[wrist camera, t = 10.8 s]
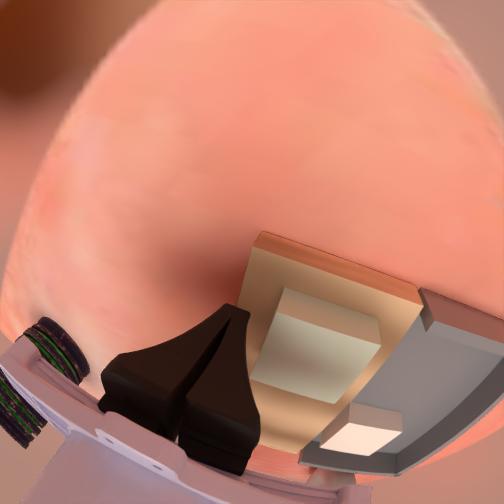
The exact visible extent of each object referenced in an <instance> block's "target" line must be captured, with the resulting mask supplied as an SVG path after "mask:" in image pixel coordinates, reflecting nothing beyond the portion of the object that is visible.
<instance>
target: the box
mask: <svg viewBox="0 0 504 504" xmlns="http://www.w3.org/2000/svg"><path fill="white" fill-rule="evenodd" d="M418 293H419V295H420V298H421V300H422V303H423V305H424V307H423V308H422V310H421V311H420V313H419V315H418V316H417V318H416V319H415V321H414V322H413V324H412V325H411V327H410V328H409V329H408V331H407V332H406V334H405V335H404V337H403V338H402V339H401V341H400V342H399V343H398V345H397V346H396V348H395V349H394V350H393V352H392V353H391V354H390V356H389V357H388V358H387V359H386V361H385V362H384V363H383V364H382V366H381V367H380V368H379V369H378V371H377V372H376V373H375V374H374V376H373V377H372V378H371V379H370V380H369V382H368V383H367V384H366V385H365V386H364V387H363V388H362V390H361V391H360V392H359V393H358V394H357V395H356V396H355V397H354V399H353V400H352V401H351V402H354V403H358V404H363V405H367V406H372V407H376V408H381V409H386V410H392V411H397V412H401V416H402V431H403V432H402V433H401V434H399V435H398V436H397V437H395V438H394V439H392V440H391V441H390V442H388V443H387V444H386V445H384V446H383V447H381V448H380V449H378V450H377V451H375V452H374V453H372V454H371V455H369V456H365V455H358V454H352V453H346V452H340V451H335V450H329V449H324V448H320V441H321V434H322V431H321V432H320V433H319V434H318V435H317V436H316V437H315V438H314V439H313V440H311V441H310V442H309V443H308V444H307V445H306V446H305V447H304V448H302V449H301V451H300V456H299V460H298V464H300V465H305V466H310V467H315V468H321V469H327V470H333V471H340V472H347V473H355V474H365V475H378V476H400V475H401V474H403V473H405V472H407V471H409V470H410V469H412V468H414V467H415V466H417V465H419V464H420V463H422V462H424V461H425V460H427V459H428V458H430V457H431V456H433V455H434V454H436V453H437V452H439V451H440V450H442V449H443V448H445V447H446V446H448V445H449V444H450V443H452V442H453V441H454V440H456V439H457V438H458V437H460V436H461V435H462V434H464V433H465V432H466V431H467V430H469V429H470V428H471V427H472V426H474V425H475V424H476V423H477V422H478V421H480V420H481V419H482V418H483V417H484V416H485V415H486V414H488V413H489V412H490V411H491V410H492V409H493V408H494V407H495V406H496V405H497V404H498V403H499V402H500V401H501V400H502V399H503V398H504V321H503V320H501V319H499V318H496V317H494V316H491V315H489V314H486V313H484V312H482V311H479V310H477V309H474V308H472V307H469V306H467V305H464V304H462V303H459V302H457V301H454V300H452V299H449V298H446V297H444V296H441V295H439V294H436V293H434V292H431V291H428V290H426V289H423V288H420V290H419V292H418Z"/></svg>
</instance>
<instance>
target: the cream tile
mask: <svg viewBox="0 0 504 504" xmlns="http://www.w3.org/2000/svg"><path fill="white" fill-rule="evenodd" d="M402 432H403V431H402V416H401V412H397V411H392V410H386V409H381V408H376V407H372V406H367V405H363V404H358V403H354V402H350V403H349V404H348V405H347V406H346V407H345V408H344V409H343V410H342V411H341V412H340V413H339V414H338V415H337V416H336V417H335V418H334V419H333V420H332V421H331V422H330V423H329V424H328V425H327V426H326V427H325V428H324V429H323V430H322V434H321V441H320V448H324V449H329V450H335V451H340V452H346V453H352V454H358V455H365V456H369V455H371V454H372V453H374V452H375V451H377V450H378V449H380V448H381V447H383V446H384V445H386V444H387V443H388V442H390V441H391V440H392V439H394V438H395V437H397V436H398V435H399V434H401V433H402Z"/></svg>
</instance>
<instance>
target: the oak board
mask: <svg viewBox="0 0 504 504" xmlns="http://www.w3.org/2000/svg"><path fill="white" fill-rule="evenodd" d="M284 287H286V288H289V289H292V290H295V291H298V292H300V293H303V294H306V295H309V296H312V297H315V298H318V299H321V300H324V301H327V302H330V303H333V304H336V305H339V306H342V307H345V308H348V309H351V310H354V311H357V312H360V313H363V314H366V315H369V316H372V317H375V318H378V324H379V331H380V338H381V347H380V348H379V350H378V351H377V352H376V354H375V355H374V356H373V358H372V359H371V360H370V362H369V363H368V364H367V366H366V367H365V368H364V370H363V371H362V372H361V373H360V375H359V376H358V377H357V378H356V380H355V381H354V382H353V383H352V384H351V386H350V387H349V388H348V389H347V390H346V392H345V393H344V394H343V395H342V396H341V397H340V399H339V400H338V401H337V402H336V403H335V404H332V403H328V402H324V401H320V400H317V399H313V398H309V397H306V396H302V395H299V394H296V393H292V392H289V391H286V390H282V389H279V388H276V387H273V386H270V385H267V384H264V383H261V382H258V381H255V380H253V379H250V376H251V373H252V370H253V368H254V365H255V362H256V359H257V357H258V354H259V352H260V349H261V347H262V344H263V342H264V339H265V336H266V334H267V331H268V329H269V326H270V324H271V321H272V319H273V316H274V313H275V311H276V308H277V306H278V303H279V300H280V298H281V295H282V292H283V290H284ZM236 307H238V308H241V309H243V310H246V311H249V312H250V314H251V315H250V318H249V321H248V325H247V332H246V360H247V369H248V376H249V381H250V385H251V389H252V393H253V397H254V400H255V403H256V406H257V409H258V411H259V414H260V422H261V435H260V440H259V443H258V444H259V445H262V446H266V447H269V448H273V449H276V450H280V451H284V452H288V453H292V454H297V453H298V452H299V451H300V450H301V449H302V448H304V447H305V446H306V445H307V444H308V443H309V442H310V441H311V440H313V439H314V438H315V437H316V436H317V435H318V434H319V433H320V432H321V431H322V430H323V429H324V428H325V427H326V426H327V425H328V424H329V423H330V422H331V421H332V420H333V419H334V418H335V417H336V416H337V415H338V414H339V413H340V412H341V411H342V410H343V409H344V408H345V407H346V406H347V405H348V404H349V403H350V402H351V401H352V400H353V399H354V397H355V396H356V395H357V394H358V393H359V392H360V391H361V390H362V388H363V387H364V386H365V385H366V384H367V383H368V382H369V380H370V379H371V378H372V377H373V376H374V374H375V373H376V372H377V371H378V369H379V368H380V367H381V366H382V364H383V363H384V362H385V361H386V359H387V358H388V357H389V356H390V354H391V353H392V352H393V350H394V349H395V348H396V346H397V345H398V343H399V342H400V341H401V339H402V338H403V337H404V335H405V334H406V332H407V331H408V329H409V328H410V327H411V325H412V324H413V322H414V321H415V319H416V318H417V316H418V315H419V313H420V311H421V310H422V308H423V307H424V305H423V303H422V300H421V298H420V295H419V293H418V291H417V288H416V286H415V285H413V284H410V283H407V282H405V281H402V280H399V279H397V278H394V277H391V276H389V275H386V274H383V273H381V272H378V271H375V270H372V269H370V268H367V267H364V266H361V265H359V264H356V263H353V262H350V261H348V260H345V259H342V258H339V257H336V256H334V255H331V254H328V253H325V252H322V251H320V250H317V249H314V248H311V247H308V246H305V245H302V244H299V243H297V242H294V241H291V240H288V239H285V238H282V237H279V236H276V235H273V234H270V233H267V232H264V231H262V232H261V234H260V235H259V237H258V238H257V240H256V241H255V243H254V244H253V246H252V249H251V253H250V257H249V261H248V264H247V268H246V272H245V275H244V279H243V283H242V287H241V290H240V294H239V298H238V302H237V305H236Z"/></svg>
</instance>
